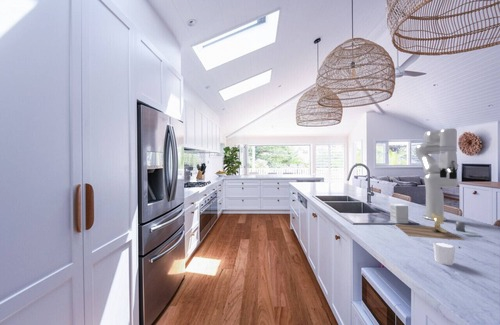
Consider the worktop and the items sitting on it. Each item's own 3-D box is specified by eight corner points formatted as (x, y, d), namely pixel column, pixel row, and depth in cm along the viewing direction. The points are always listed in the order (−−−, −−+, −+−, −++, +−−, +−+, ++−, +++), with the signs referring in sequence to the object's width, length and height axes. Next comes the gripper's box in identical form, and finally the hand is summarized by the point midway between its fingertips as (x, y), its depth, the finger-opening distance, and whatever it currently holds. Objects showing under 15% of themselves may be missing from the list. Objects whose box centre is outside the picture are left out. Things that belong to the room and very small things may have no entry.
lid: (441, 229, 131) (441, 218, 131) (466, 230, 128) (466, 219, 128) (454, 236, 120) (454, 224, 120) (481, 238, 117) (481, 225, 116)
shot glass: (431, 261, 89) (431, 244, 89) (434, 256, 94) (433, 240, 94) (454, 267, 84) (455, 249, 84) (455, 261, 89) (455, 244, 89)
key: (441, 235, 115) (441, 217, 115) (431, 228, 125) (431, 212, 125) (446, 235, 114) (447, 217, 114) (436, 229, 125) (436, 213, 124)
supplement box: (401, 222, 144) (401, 203, 144) (408, 225, 137) (408, 205, 137) (389, 222, 145) (389, 203, 145) (396, 225, 138) (396, 205, 138)
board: (394, 226, 136) (394, 223, 136) (440, 229, 129) (440, 226, 129) (408, 238, 115) (408, 235, 115) (465, 243, 108) (465, 240, 108)
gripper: (432, 150, 139) (432, 177, 140) (448, 149, 123) (448, 179, 123) (447, 150, 137) (447, 177, 137) (465, 148, 121) (465, 179, 121)
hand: (447, 178), depth 130 cm, fingers open, 9 cm apart
